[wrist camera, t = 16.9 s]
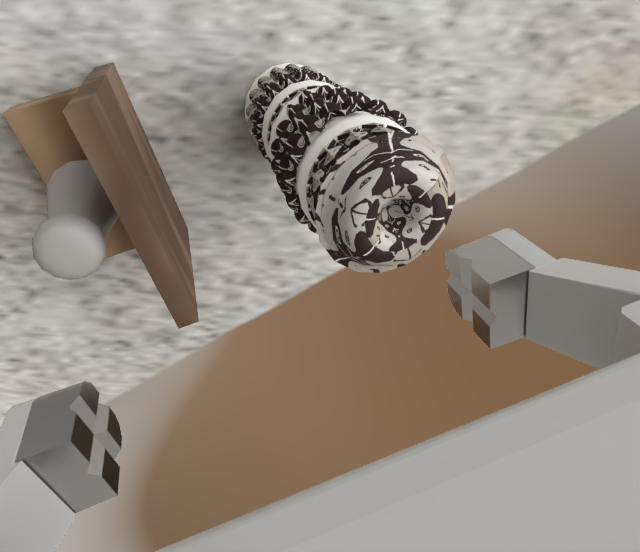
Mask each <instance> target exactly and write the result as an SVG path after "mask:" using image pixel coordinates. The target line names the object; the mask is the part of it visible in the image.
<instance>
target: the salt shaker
mask: <svg viewBox="0 0 640 552" xmlns="http://www.w3.org/2000/svg"><path fill="white" fill-rule="evenodd" d="M118 218H119V216H118V214H117V213H116V211H115V209H114V207H113V205H112V203H111V201H110V199H109V198H108V196H107V194H106V192H105V190H104V188H103V186H102V185H101V183H100V181H99V179H98V177H97V175H96V173H95V172H94V170H93V168H92V166H91V164H90V162H89V160H79V161H70V162H68V163H66V164H65V165H63V166H62V167H60V168H58V169H57V170H55V171H54V173H53V175H52V177H51V178H50V180H49V182H48V184H47V220H46V221H44V222H43V223H41V225H40V226H39V228H38V230H37V232H36V233H35V235H34V237H33V239H32V247H33V256H34V258H35V260H36V261H37V263H38V264H39V266H40V267H41V269H43V270H45V271H46V272H48V273H50V274H51V275H53V276H55V277H59V278H64V279H69V280H72V279H79V278H85V277H87V276H88V275H90V274H92V273H93V272H95V271H97V269H98V268H99V266H100V265H101V263H102V261H103V259H104V258H105V256H106V238H105V236H106V234H107V233H108V232H109V230H110V229H111V227H112V226H113V225H114V223H115V222H116V221H117V219H118Z"/></svg>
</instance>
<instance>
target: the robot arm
mask: <svg viewBox="0 0 640 552" xmlns="http://www.w3.org/2000/svg"><path fill="white" fill-rule="evenodd" d="M445 261H446V267H447V268H448V269H449V270H450V271H451V272H452V274H451V276H450V278H449V279H448V282H447V286H448V294H449V297H450V300H451V303H452V305H453V307H454V308H455V310H456V312H457V313H458V314H459V315H460V316H461V318H462V319H465V320H468V321H471V322H473V329H474V332H475V333H476V334H477V335H478V336H479V337H480V339H482V341H483V342H484V343H485V344H486V345H487V346H488V347H489V348H490V349H493V348H495V347H498V346H501V345H504V344H506V343H509V342H512V341H515V340H517V339H520V338H523V337H526V339H528V340H530V341H533V342H535V343H538V344H540V345H542V346H545V347H547V348H550V349H552V350H554V351H557V352H559V353H562V354H564V355H567V356H569V357H571V358H574V359H576V360H579V361H581V362H583V363H586V364H588V365H591V366H593V367H596V368H598V369H599V370H597V371H595V372H592V373H589V374H587V375H584V376H582V377H580V378H577V379H575V380H573V381H570V382H567V383H565V384H563V385H560V386H558V387H555V388H553V389H550V390H548V391H545V392H543V393H541V394H538V395H536V396H533V397H531V398H528V399H526V400H523V401H521V402H519V403H516V404H514V405H511V406H509V407H506V408H504V409H501V410H499V411H497V412H494V413H492V414H489V415H487V416H484V417H482V418H479V419H477V420H475V421H472V422H470V423H467V424H465V425H462V426H460V427H457V428H455V429H453V430H451V431H448V432H445V433H443V434H440V435H438V436H436V437H433V438H431V439H428V440H426V441H423V442H421V443H419V444H416V445H413V446H411V447H409V448H406V449H404V450H401V451H399V452H396V453H394V454H392V455H389V456H387V457H384V458H382V459H379V460H377V461H374V462H372V463H369V464H367V465H365V466H362V467H360V468H357V469H355V470H352V471H350V472H348V473H345V474H343V475H340V476H338V477H335V478H333V479H330V480H328V481H326V482H323V483H321V484H318V485H316V486H313V487H311V488H308V489H306V490H304V491H301V492H299V493H296V494H294V495H292V496H289V497H286V498H284V499H282V500H279V501H277V502H274V503H272V504H269V505H267V506H265V507H262V508H260V509H257V510H255V511H253V512H250V513H248V514H245V515H243V516H240V517H238V518H235V519H233V520H230V521H228V522H226V523H223V524H221V525H218V526H216V527H213V528H211V529H208V530H206V531H204V532H201V533H199V534H196V535H194V536H191V537H189V538H186V539H184V540H182V541H179V542H177V543H174V544H172V545H169V546H167V547H164V548H162V549H160V550H157V551H155V552H640V272H638V271H633V270H627V269H622V268H616V267H611V266H605V265H599V264H594V263H588V262H583V261H577V260H572V259H566V258H561V259H559V260H556V259H554V258H553V257H551V256H550V255H549V254H547V253H546V252H544V251H543V250H542V249H540V248H539V247H537V246H536V245H534V244H532V243H531V242H530V241H529V240H527V239H526V238H524V237H523V236H521V235H520V234H518V233H517V232H516V231H514V230H512V229H509V228H506V229H503V230H500V231H498V232H495V233H493V234H490V235H488V236H486V237H485V238H482V239H479V240H476V241H473V242H471V243H468V244H465V245H462V246H460V247H457V248H455V249H452V250H449V251H447V252H446V257H445ZM98 400H99V392H98V391H97V390H96V388H95V387H94V386H93V385H92V383H90V382H82V383H79V384H76V385H73V386H70V387H67V388H64V389H61V390H58V391H55V392H52V393H49V394H46V395H43V396H40V397H38V398H36V399H32V400H29V401H27V402H24V403H21V404H18V405H15V406H13V407H12V408H10V409H9V410H8V411H7V413H6V416H5V418H4V421H3V424H2V427H1V430H0V552H55V551H56V550H57V548H58V546H59V545H60V543H61V541H62V539H63V538H64V536H65V534H66V532H67V531H68V529H69V527H70V525H71V523H72V522H73V520H74V518H75V516H76V514H75V513H77V512H79V511H82V510H84V509H86V508H89V507H91V506H93V505H96V504H98V503H101V502H103V501H105V500H108V499H110V498H112V497H115V496H117V495H118V483H119V472H120V467H119V465H118V464H117V463H116V461H115V460H114V459H115V457H116V456H117V454H118V453H119V452H120V450H121V444H122V443H121V442H122V435H121V431H120V425H119V422H118V420H117V418H116V416H115V414H114V413H113V411H112V410H111V408H110V407H108V406H106V405H103V404H100V403H98Z"/></svg>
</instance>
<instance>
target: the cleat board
mask: <svg viewBox="0 0 640 552" xmlns="http://www.w3.org/2000/svg"><path fill="white" fill-rule="evenodd" d="M3 116H4V118H5V119H6V121H7V122H8V124H9V126H10V127H11V129H12V131H13V132H14V134H15V136H16V137H17V139H18V140H19V142H20V144H21V145H22V147H23V149H24V150H25V152H26V153H27V155H28V157H29V158H30V160H31V162H32V163H33V165H34V167H35V168H36V170H37V171H38V173H39V175H40V176H41V178H42V180H43V181H44V183H45V185H46V186H47V184H48V182H49V180H50V178H51V177H52V175H53V173H54V171H55V170H57V169H58V168H60V167H62V166H63V165H65V164H66V163H68V162H70V161H79V160H89V162H90V164H91V166H92V168H93V170H94V172H95V173H96V175H97V177H98V179H99V181H100V183H101V185H102V186H103V188H104V190H105V192H106V194H107V196H108V198H109V199H110V201H111V203H112V205H113V207H114V209H115V211H116V213H117V214H118V216H119V218H118V219H117V221H116V222H115V223H114V225H113V226H112V227H111V229H110V230H109V232H108V233H107V234H106V236H105V238H106V256H105V258H107V257H110V256H113V255H116V254H119V253H122V252H125V251H128V250H131V249H134V248H136V250H137V252H138V253H139V255H140V257H141V259H142V261H143V263H144V265H145V266H146V268H147V270H148V272H149V274H150V276H151V278H152V280H153V281H154V283H155V285H156V287H157V289H158V291H159V293H160V294H161V296H162V298H163V300H164V302H165V304H166V306H167V307H168V309H169V311H170V313H171V315H172V317H173V319H174V320H175V322H176V324H177V326H178V328H182V327H184V326H187V325H190V324H193V323H195V322H198V321H199V320H198V312H197V304H196V295H195V287H194V278H193V270H192V261H191V253H190V244H189V236H188V228H187V226H186V224H185V222H184V219H183V217H182V215H181V213H180V211H179V208H178V206H177V204H176V202H175V199H174V197H173V195H172V193H171V190H170V188H169V186H168V184H167V182H166V179H165V177H164V175H163V173H162V170H161V168H160V166H159V164H158V161H157V159H156V157H155V155H154V153H153V150H152V148H151V146H150V144H149V141H148V139H147V137H146V135H145V132H144V130H143V128H142V126H141V124H140V121H139V119H138V117H137V115H136V112H135V110H134V108H133V106H132V104H131V101H130V99H129V97H128V95H127V92H126V90H125V88H124V86H123V83H122V81H121V79H120V77H119V75H118V72H117V70H116V68H115V66H114V63H110V64H106V65H103V66H100V67H96V68H95V69H94V70H93V71H92V73H91V74H90V75H89V77H88V78H87V79H86V81H85V82H84V83H83V85H82V86H81V87H78V88H74V89H71V90H68V91H64V92H61V93H57V94H54V95H51V96H47V97H44V98H41V99H37V100H34V101H31V102H27V103H24V104H21V105H17V106H14V107H11V108H10V109H8V110H7V111H6V112H5V113H4V114H3Z"/></svg>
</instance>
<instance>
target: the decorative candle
mask: <svg viewBox="0 0 640 552" xmlns="http://www.w3.org/2000/svg"><path fill="white" fill-rule="evenodd" d="M244 114H245V118H246V122H247V126H248V130H249V132H250V133H251V134H252V139H253V140H254V141H255V144H256V145H257V146H258V147H259V150H260V151H261V152H262V155H263V156H264V157H265V158H266V159H268V160H269V162H270V163H271V167H272V170H273V172H274V173H275V174H276V178H277V182H278V184H279V186H280V188H281V190H282V192H283V193H284V194H285V196H286V201H287V204H288V206H289V207H290V208H291V209H292V210H295V211H294V214H295V217H296V219H297V220H298V221H299V222H300V223H302V224H307V223H308V227H309V229H310V230H311V231H312V232H314V233H318V234H319V239H320V242H321V244H322V245H323V246H324V248H325V249H326V250H327V251H328V253H329V254H330V255H331V257H332V258H333V259H334V261H336V262H338V263H340V264H342V265H344V266H346V267H348V268H350V269H352V270H354V271H356V272H375V273H382V272H385V271H388V270H391V269H395V268H398V267H401V266H404V265H407V264H408V263H410V262H411V261H412V260H414V259H415V258H417V257H418V256H419V255H421V254H422V253H424V252H425V251H426V250H428V249H429V248H430V247H431V245H432V244H433V243H434V241H435V240H436V239H437V238H438V236H439V235H440V233H441V232H442V231H443V230H444V228H445V227H446V225H447V222H448V219H449V216H450V214H451V211H452V208H453V206H454V203H455V174H454V171H453V169H452V167H451V165H450V163H449V161H448V159H447V156H446V154H445V152H444V151H443V150H442V149H440V148H439V147H438V146H437V145H435V144H434V143H433V142H431V141H430V140H429V139H427V138H426V137H425V136H423V135H418V133H417V132H416V130H415V129H413V128H412V127H406V128H404V127H405V126H406V123H407V120H406V117H405V116H404V115H403V114H402V113H401V112H399V111H396V110H393V111H389V109H388V108H387V105H386V103H385V102H383V101H381V100H372V101H371V100H370V98H368V97H367V96H365V95H364V94H363V93H361V92H351V90H349V89H348V88H342V87H341V86H340V85H338V84H335V83H334V82H333V81H330V80H329V79H328V77H326V76H323V75H322V74H321V73H318V72H317V71H316V70H315V69H312V68H311V67H308V66H303V65H298V64H294V63H289V62H288V63H284V64H280V65H275V66H271V67H269V68H268V69H267V70H266V71H264V72H263V73H262V74H260V75H259V76H258V77H257V78H256V79H255V81H254V82H253V84H252V86H251V88H250V89H249V91H248V93H247V96H246V103H245V111H244Z"/></svg>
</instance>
